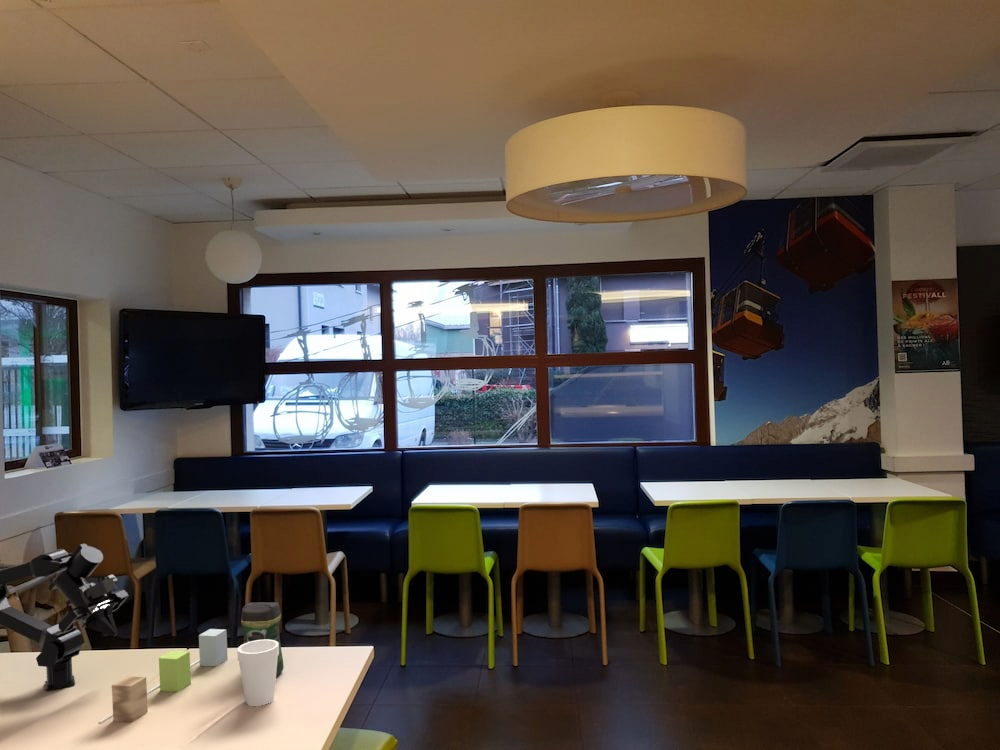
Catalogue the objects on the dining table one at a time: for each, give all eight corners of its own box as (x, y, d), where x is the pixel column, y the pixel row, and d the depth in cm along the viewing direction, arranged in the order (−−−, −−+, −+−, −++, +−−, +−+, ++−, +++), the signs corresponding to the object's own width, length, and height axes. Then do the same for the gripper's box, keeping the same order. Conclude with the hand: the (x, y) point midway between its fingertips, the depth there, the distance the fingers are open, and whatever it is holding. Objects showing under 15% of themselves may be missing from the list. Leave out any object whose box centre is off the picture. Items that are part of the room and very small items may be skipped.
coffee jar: (287, 668, 202) (284, 598, 202) (275, 680, 195) (272, 607, 194) (252, 668, 203) (249, 598, 203) (239, 680, 196) (236, 607, 195)
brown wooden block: (113, 720, 172) (111, 685, 172) (128, 710, 177) (127, 676, 177) (132, 722, 171) (130, 686, 171) (147, 712, 176) (146, 677, 176)
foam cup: (268, 710, 177) (266, 654, 177) (231, 708, 179) (229, 653, 179) (287, 693, 186) (285, 640, 186) (252, 691, 188) (250, 638, 188)
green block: (160, 690, 188) (158, 658, 188) (173, 682, 193) (171, 650, 193) (178, 691, 187) (176, 659, 187) (190, 683, 191) (189, 651, 191)
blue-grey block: (199, 665, 203) (198, 635, 203) (211, 658, 208) (209, 628, 208) (216, 666, 202) (215, 636, 202) (227, 659, 207) (226, 629, 207)
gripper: (66, 578, 185) (107, 625, 183) (121, 558, 203) (159, 601, 201) (40, 609, 187) (80, 656, 185) (96, 587, 205) (134, 630, 203)
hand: (115, 634), depth 193 cm, fingers closed
